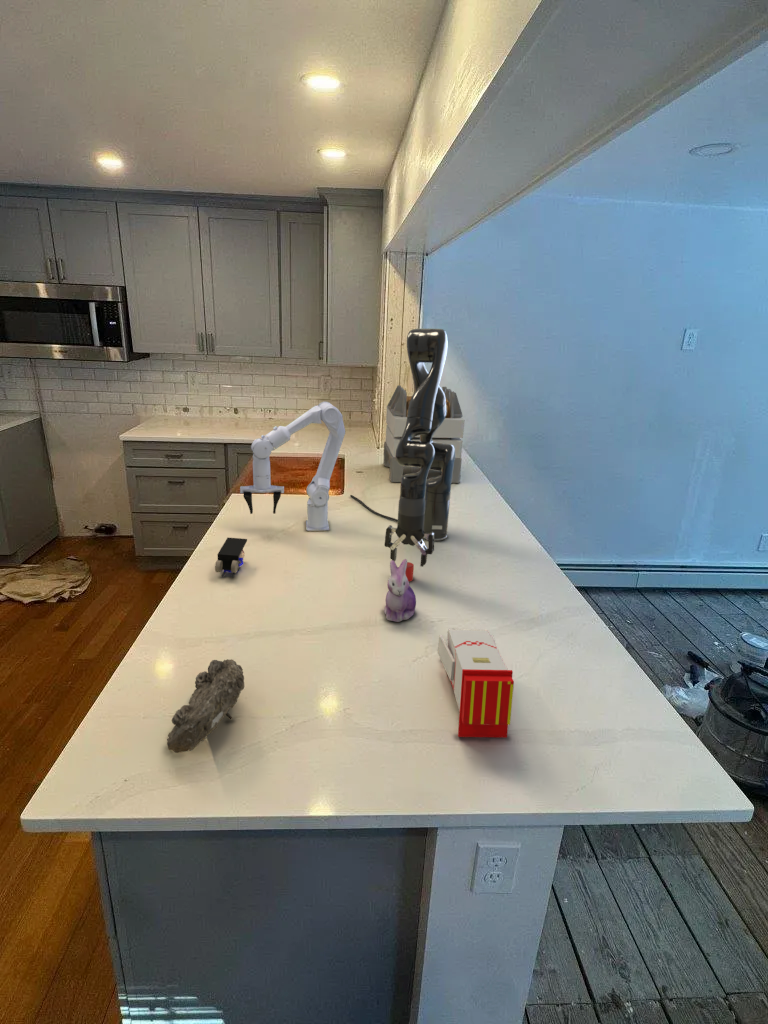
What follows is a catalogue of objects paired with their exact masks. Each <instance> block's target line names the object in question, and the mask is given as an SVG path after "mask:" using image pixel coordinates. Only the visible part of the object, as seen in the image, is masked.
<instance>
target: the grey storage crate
mask: <svg viewBox="0 0 768 1024" xmlns="http://www.w3.org/2000/svg"><path fill="white" fill-rule="evenodd" d="M441 389H442V390H443V392H444V394H445V398H446V411H447V413H446V417H445V419H444V421H443V423H442V424H441V425H440V427H439V428H438V429H437V430H436V432H435V433H434V435H433V437H432V441H433V442H436V443H443V444H450V445H453V446H454V448H455V460H454V467H453V474H452V483H451V484H455V483H456V484H459V483H461V472H462V461H463V460H462V453H463V442H464V441H463V440H462V439H463V438H464V431H465V430H464V429H465V419H464V418H463V411H462V408H461V405H460V402H459V398H458V395H457V392H455V391H453V390H452V389H451V388H447V386H442V387H441ZM407 394H408V393H407V390H406V389H404V388H403V387H402V385H399V384H398V385H397V386H396V388H395V390H394V392H393V394H392V395H391V398H390V400H389V402H388V404H387V405H386V413H385V414H386V415H385V423H386V428H385V438H384V442H383V466H384V467H388V468H389V475H388V476H389V477H388V478H389V480H390V482H391V483H401V478H402V476H403V475H404V469H405V466H402V465H400V464H399V463H398V462H397V460H396V457H395V453H396V449H397V446H398V444H399V442H400V440H401V437H402V435H403V432H404V430H405V426H406V421H407V414H408V407H409V403H410V400H411V397H412V396H413V395H412V396H411V395H407ZM411 441H420V435H419V436H416V437H414V438H413V439H412V440H411ZM439 473H440V474H442V471H439Z"/></svg>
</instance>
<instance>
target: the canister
mask: <svg viewBox="0 0 768 1024" xmlns="http://www.w3.org/2000/svg"><path fill="white" fill-rule="evenodd" d="M414 570H415V564H414V563H413V562H409V561H407V567H406V571H405V574H406V577H407V579H408V582H409V583H410V582H412V581H414V572H415V571H414Z"/></svg>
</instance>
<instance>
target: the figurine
mask: <svg viewBox="0 0 768 1024" xmlns="http://www.w3.org/2000/svg"><path fill="white" fill-rule="evenodd" d="M407 562H408V559H406V558H404V559H403V560H402V561H401V563H400V565H399V566H398V565H397V563H396V561H395V562H394V561H393V560H392V559H390V561H389V570H390V576H389V578H388V579H387V589H388V591H387V592H386V594H385V595H386V596H385V607H384V615H385V616H386V620H387V621H391V622H395V623H400V622H402V621H406V620H409V619H410V618H411V617H413V616H414V615H415V610H416V606H417V597H416V593H415V591H414V590H413V587H411V586H410V582H408V579H407V577H406V574H405V571H406V567H407Z"/></svg>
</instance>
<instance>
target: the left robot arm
mask: <svg viewBox="0 0 768 1024" xmlns="http://www.w3.org/2000/svg"><path fill="white" fill-rule="evenodd" d="M343 417H344V416H343V414H342V412H341V411H340V409H339V408H338V407H336V406H335V405H333V404H332V403H331V402H329V401H322V402H319V404H318V405H316V404H315V405H314V406H311V408H310V409H308V410H307V411H305V412H303V414H301V415H300V416H298V417H297V418H295V419H294V420H293V421H291V422H290V423H288V424H287V425H285V426H283V425H279V426H277V425H275V426H274V427H272V430H271V431H269V432H267V433H266V434H265V435H264V434H261V436H260V437H258V438H256V439H254V440H253V441H252V443H251V445H250V449H251V451H252V479H253V480H252V481H253V482H252V483H253V485H244V486H243V485H241V486H240V487H239V494H242V495H243V499H244V500H245V502H246V504H247V507H248V510H249V513H250V515H253V512H254V511H253V510H254V509H253V494H273V495H272V497H273V498H272V500H273V508H272V513H273V514H276V510H277V507H278V503H279V501H280V499H281V495H282V494H285V486H284V485H281V486H280V485H273V484H272V482H271V479H272V478H271V460H270V457H271V455H272V451H275V450H277V449H279V448H280V447H281V446H283V445H285V444H286V443H288V442H290V440H291V436H292V435H293V434H295V433H297V432H299V431H300V430H302V429H304V428H305V427H307V426H309V425H311V424H319V425H321V424H323V423H324V424H325V426H326V428H327V430H328V431H329V433H328V436H327V440H326V442H325V445H324V449H323V452H322V455H321V458H320V461H319V464H318V467H317V470H316V473H315V475H314V476H313V477H312V480H311V482H310V483H309V484H307V487H306V490H305V491H306V494H307V496H308V497H309V498H308V500H307V501H306V508H307V509H306V511H307V512H306V513H307V515H306V517H307V518H306V520H305V528H306V529H305V530H306V531H308V532H314V531H318V532H319V531H322V532H323V531H330V525H329V520H328V519H329V499H330V493H329V492H330V489H331V485H330V482H331V481H330V480H331V478H332V475H333V471H334V468H335V467H336V466H335V465H336V462H337V459H338V456H339V453H340V451H341V447H342V445H343V441H344V438H345V435H346V428H345V423H344V419H343ZM322 422H323V423H322Z"/></svg>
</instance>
